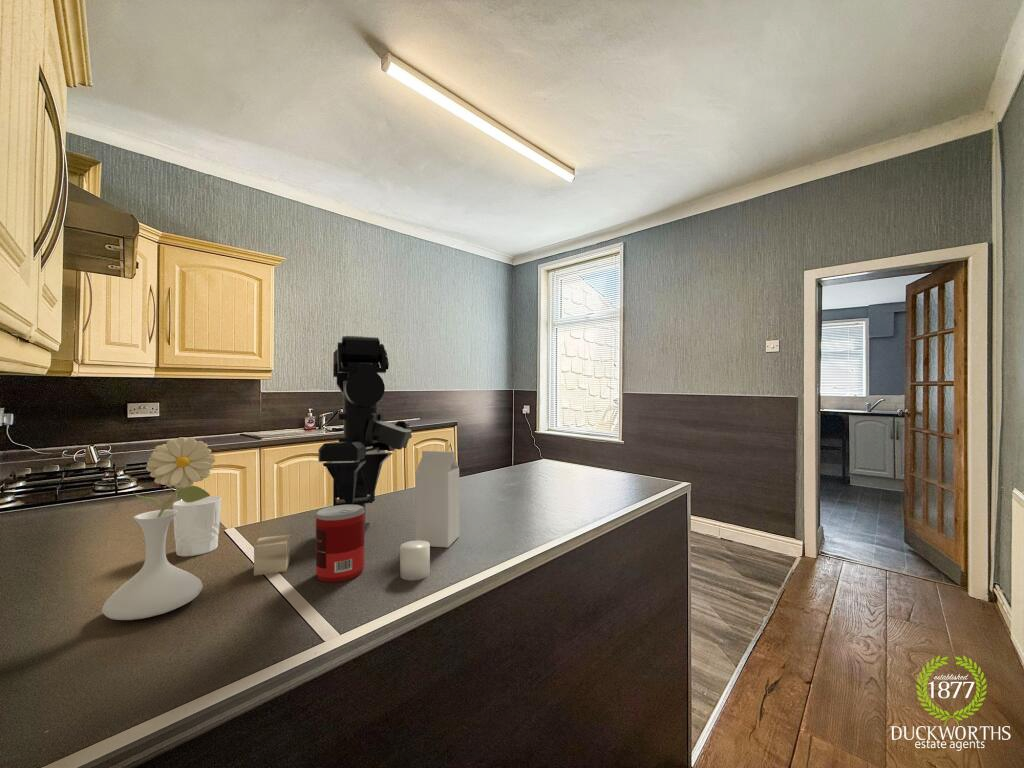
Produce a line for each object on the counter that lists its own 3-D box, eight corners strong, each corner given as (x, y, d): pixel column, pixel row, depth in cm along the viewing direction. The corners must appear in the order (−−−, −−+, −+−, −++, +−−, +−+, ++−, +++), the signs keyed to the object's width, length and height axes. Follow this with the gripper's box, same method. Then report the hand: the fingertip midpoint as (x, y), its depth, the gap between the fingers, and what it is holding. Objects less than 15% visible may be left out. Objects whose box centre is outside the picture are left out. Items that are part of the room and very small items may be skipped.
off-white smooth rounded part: (402, 569, 77) (402, 541, 77) (430, 567, 77) (430, 539, 77) (398, 581, 72) (398, 551, 72) (428, 579, 72) (428, 549, 72)
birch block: (259, 565, 79) (259, 537, 79) (289, 561, 81) (289, 534, 81) (253, 576, 74) (254, 547, 74) (286, 571, 76) (286, 543, 76)
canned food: (373, 567, 77) (373, 506, 78) (342, 586, 70) (342, 518, 70) (339, 561, 80) (339, 502, 80) (305, 579, 72) (305, 514, 73)
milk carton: (448, 548, 86) (448, 454, 87) (415, 546, 88) (415, 453, 88) (459, 536, 93) (459, 449, 94) (429, 534, 95) (428, 448, 95)
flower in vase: (84, 637, 56) (86, 444, 56) (122, 598, 66) (124, 436, 67) (205, 615, 61) (206, 439, 61) (222, 583, 71) (223, 432, 72)
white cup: (225, 550, 86) (225, 500, 87) (176, 561, 81) (177, 508, 81) (215, 540, 92) (215, 494, 92) (168, 551, 86) (169, 501, 86)
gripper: (387, 405, 65) (388, 509, 64) (420, 406, 84) (421, 487, 83) (316, 407, 66) (316, 510, 65) (364, 408, 85) (365, 488, 84)
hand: (361, 497), depth 74 cm, fingers open, 9 cm apart
